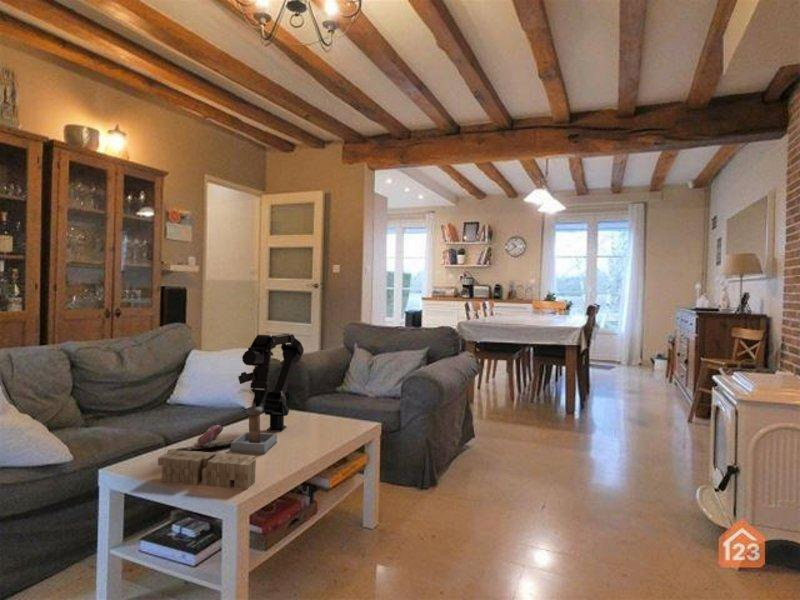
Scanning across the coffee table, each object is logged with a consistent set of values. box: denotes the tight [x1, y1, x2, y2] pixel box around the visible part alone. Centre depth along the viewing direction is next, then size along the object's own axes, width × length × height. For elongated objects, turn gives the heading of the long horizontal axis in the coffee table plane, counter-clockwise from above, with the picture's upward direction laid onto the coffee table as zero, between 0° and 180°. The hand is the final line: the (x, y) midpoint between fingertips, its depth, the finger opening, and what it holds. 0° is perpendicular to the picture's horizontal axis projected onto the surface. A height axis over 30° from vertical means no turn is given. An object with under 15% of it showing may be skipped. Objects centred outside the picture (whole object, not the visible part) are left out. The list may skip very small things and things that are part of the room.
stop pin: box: [246, 406, 263, 443], centre depth 179 cm, size 6×6×14 cm
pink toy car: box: [197, 424, 224, 444], centre depth 187 cm, size 10×5×7 cm, turn 170°
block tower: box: [157, 448, 257, 490], centre depth 148 cm, size 8×8×29 cm
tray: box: [230, 431, 278, 455], centre depth 179 cm, size 13×13×4 cm
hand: (257, 406), depth 188 cm, fingers open, 9 cm apart
